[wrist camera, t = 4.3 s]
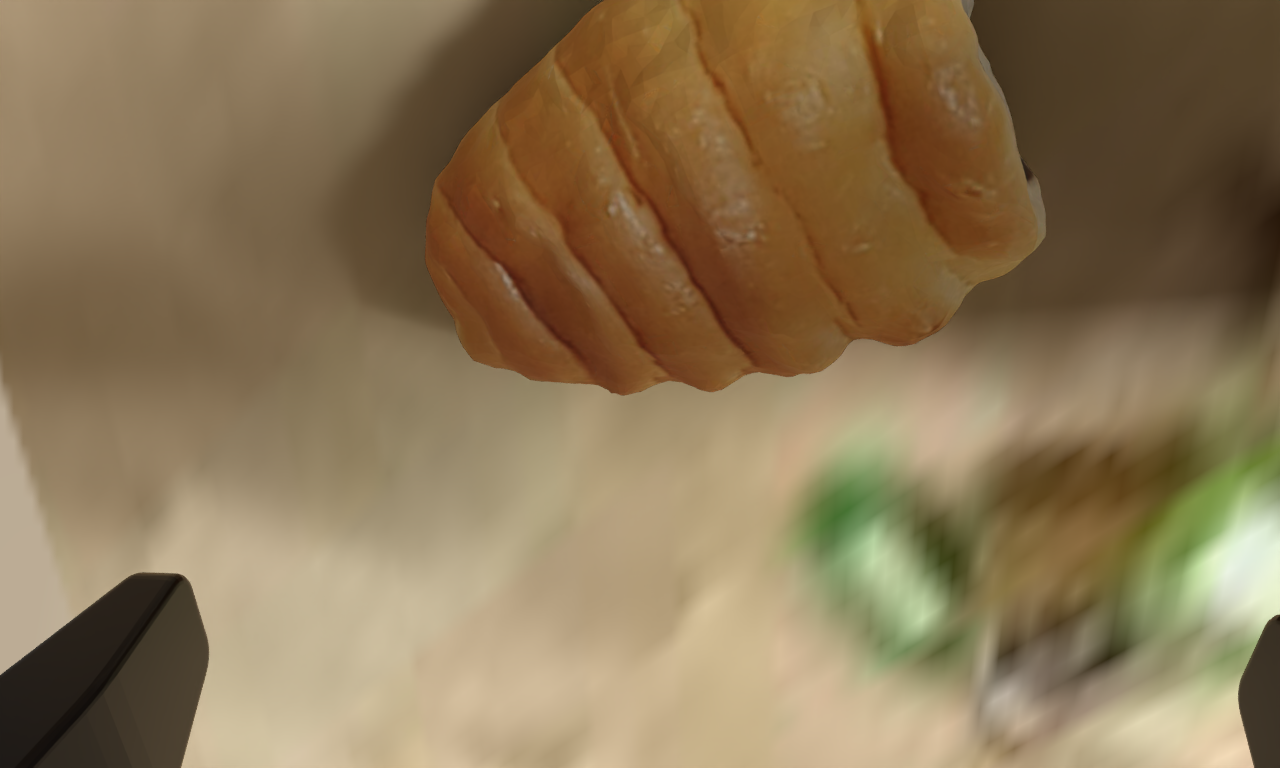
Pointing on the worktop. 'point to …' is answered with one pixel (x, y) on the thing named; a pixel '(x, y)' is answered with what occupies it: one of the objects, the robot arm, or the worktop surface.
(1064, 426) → the worktop surface
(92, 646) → the robot arm
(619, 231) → the pastry
